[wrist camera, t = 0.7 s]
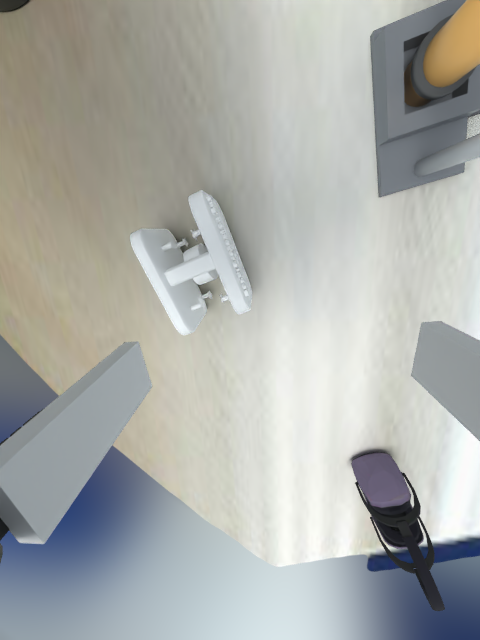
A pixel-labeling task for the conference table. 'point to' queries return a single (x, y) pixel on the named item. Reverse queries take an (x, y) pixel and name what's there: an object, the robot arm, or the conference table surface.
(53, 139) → the conference table surface
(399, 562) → the headphones
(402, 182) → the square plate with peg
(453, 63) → the plug
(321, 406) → the conference table surface
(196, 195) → the cable organizer
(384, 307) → the conference table surface
